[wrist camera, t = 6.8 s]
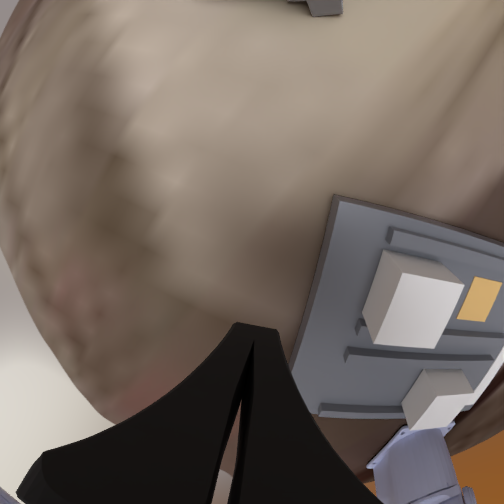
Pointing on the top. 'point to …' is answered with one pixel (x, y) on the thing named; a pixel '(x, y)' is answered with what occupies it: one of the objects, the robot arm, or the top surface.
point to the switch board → (354, 326)
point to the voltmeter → (324, 7)
